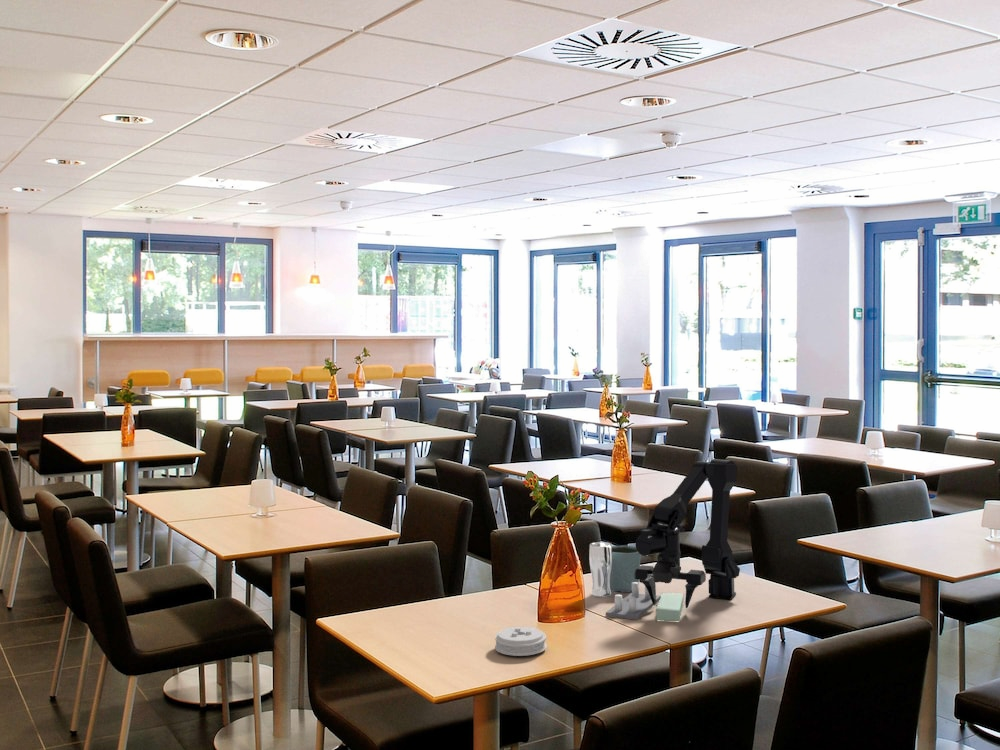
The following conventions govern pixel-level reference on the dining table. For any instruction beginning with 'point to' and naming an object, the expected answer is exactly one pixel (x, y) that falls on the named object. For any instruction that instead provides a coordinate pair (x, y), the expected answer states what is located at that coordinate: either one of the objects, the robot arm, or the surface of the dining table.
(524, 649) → the lid
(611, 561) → the beer glass
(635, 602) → the peg stand
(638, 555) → the teal cylinder
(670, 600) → the plank
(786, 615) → the dining table surface
